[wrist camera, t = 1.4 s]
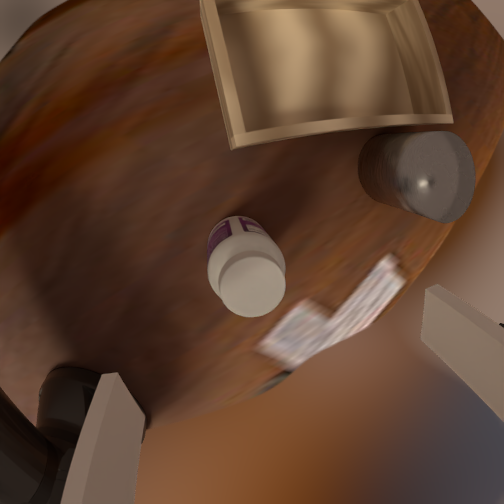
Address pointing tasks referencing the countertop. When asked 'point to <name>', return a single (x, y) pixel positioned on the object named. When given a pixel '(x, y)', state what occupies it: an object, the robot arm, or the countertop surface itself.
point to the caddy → (322, 67)
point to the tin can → (419, 173)
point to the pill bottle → (245, 267)
